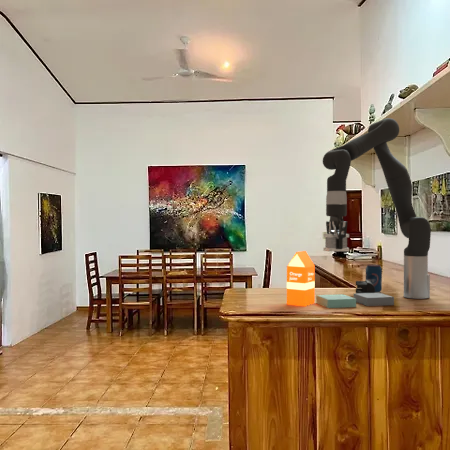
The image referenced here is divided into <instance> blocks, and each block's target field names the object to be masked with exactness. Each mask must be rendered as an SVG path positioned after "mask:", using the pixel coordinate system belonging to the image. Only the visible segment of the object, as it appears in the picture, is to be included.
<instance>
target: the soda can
mask: <svg viewBox="0 0 450 450" xmlns="http://www.w3.org/2000/svg"><path fill="white" fill-rule="evenodd" d="M365 280H369V281H370V282H371V283H372V284H373V285H374V287H375V293H382V290H383V268H382V267H381V264H376V263H375V264H373V263H372V264H371V263H370V264H367V265H366V267H365Z"/></svg>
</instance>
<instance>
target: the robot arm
mask: <svg viewBox="0 0 450 450" xmlns="http://www.w3.org/2000/svg"><path fill="white" fill-rule="evenodd" d="M399 134H400V126H399V123H398V122H397V121H396V120H395V119H394V118H391V117H388V118H384V119H381V120H378V121H376V122H374V123H371V124H369V126H368V129H367V132H366V133H364V134H362V135H359V136H358V137H355V138H353V139H352V140H349V141H348V142H346V143H345V144H343V145H341V146H338V147H335V148H333V149H330V150H328V151H327V152H326V153H325V154H324V155H323V156H322V164H323V167H325V168H326V169H328V170H329V171H331V170H333V171H334V170H335V171H334V174H332V175H329V176H328V177H327V180H326V181H327V182H326V198H325V200H326V201H325V204H326V205H325V206H326V207H325V208H326V209H325V213H326V214H325V215H326V216H327V217H329V221H328V220H326V222H325V227H326V234H336V238H337V239H336V249H342V248H343V239H344V237H346V234H347V231H348V230H347V229H348V221H344V217H346V216H347V213H348V212H347V211H348V209H347V208H348V207H347V206H348V204H347V201H348V200H347V199H348V197H347V196H348V195H347V179H348V176H349V171H350V168H351V164H352V161H355V160H356V159H358V158H360V157H361V156H363V155H365V154H366V153H367V152H369V151H371V150H372V149H373V150H374V152H375V154H376V156H377V159H378V162H379V164H380V167H381V169H382V172H383V175H384V178H385V179H384V180H385V182H386V185H387V188H388V190H389V193H390V196H391V199H392V202H393V205H394V208H395V211H396V215H397V219H398V223H399V228H400V231H401V234H402V235H403V236H404V237H405V238H406V239H408V244H407V246H406V247H405V248H404V250H403V297H404V298H408V299H418V300H421V299H422V300H423V299H429V298H430V297H431V296H430V295H431V291H430V290H431V282H430V281H431V276H430V274H428V273H429V272H428V271H429V270H428V269H429V268H428V264H429V261H428V260H429V257H428V256H429V250H430V248H431V247H430V246H431V234H432V231H431V230H432V227H431V224H430V222H429V221H428V219H427V218H425V217H422V216H417V214H416V212H415V209H414V206H413V197H412V196H413V184H412V179H411V176H410V173H409V171H408V169H407V167H406V166H405V165H404V164H403V163H402V161H400V160H399V159H398V158H396V157H395V156H394V155H393V154H392V152H391V150H390V147H389V146H388V143H389V142H392V141H393V140H395V139H396V138H398V136H399ZM338 234H339V235H338Z"/></svg>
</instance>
